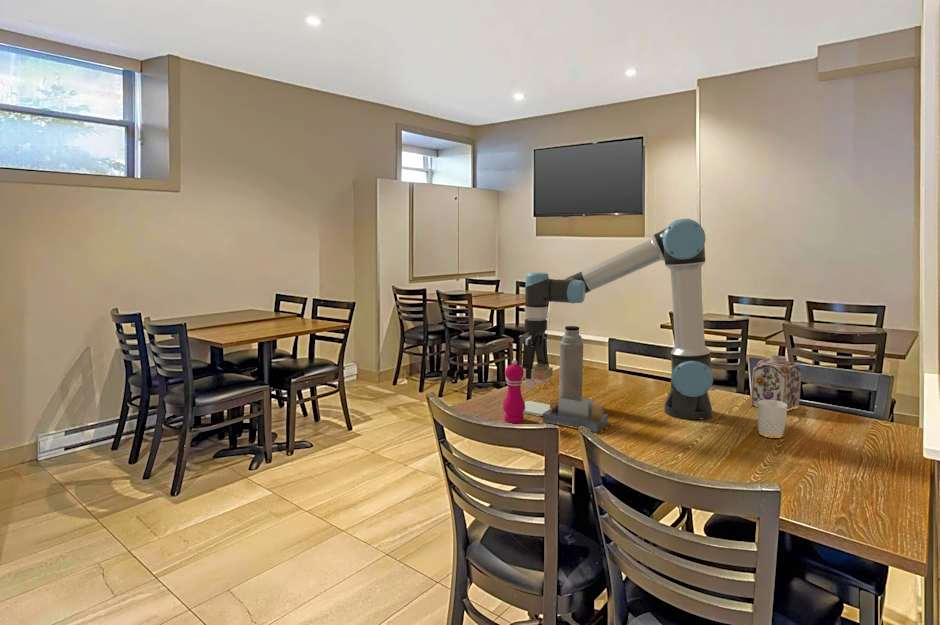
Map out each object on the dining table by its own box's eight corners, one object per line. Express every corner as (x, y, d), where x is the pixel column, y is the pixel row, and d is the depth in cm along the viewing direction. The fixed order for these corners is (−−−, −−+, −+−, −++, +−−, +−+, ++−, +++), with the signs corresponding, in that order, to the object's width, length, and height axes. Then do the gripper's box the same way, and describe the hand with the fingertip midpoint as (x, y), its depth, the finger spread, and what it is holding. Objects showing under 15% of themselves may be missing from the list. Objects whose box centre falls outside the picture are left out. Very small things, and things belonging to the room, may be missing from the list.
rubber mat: (555, 408, 204) (556, 405, 204) (542, 417, 195) (542, 414, 195) (527, 403, 210) (527, 400, 210) (512, 411, 201) (512, 408, 201)
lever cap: (552, 375, 201) (552, 364, 201) (543, 380, 195) (543, 368, 195) (526, 371, 206) (526, 360, 206) (516, 376, 201) (516, 364, 200)
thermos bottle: (558, 401, 213) (559, 324, 208) (580, 401, 212) (582, 324, 208) (559, 407, 205) (561, 328, 201) (582, 408, 204) (584, 328, 200)
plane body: (607, 423, 189) (608, 399, 188) (596, 432, 180) (597, 407, 179) (555, 413, 198) (556, 390, 197) (543, 422, 190) (543, 398, 189)
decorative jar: (782, 414, 198) (787, 362, 195) (749, 406, 207) (752, 355, 204) (799, 408, 205) (804, 357, 202) (766, 400, 214) (770, 351, 211)
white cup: (751, 435, 178) (754, 403, 177) (761, 429, 184) (763, 398, 182) (779, 442, 173) (782, 409, 171) (788, 435, 178) (791, 403, 177)
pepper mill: (499, 417, 194) (499, 358, 191) (519, 415, 197) (519, 356, 194) (508, 424, 188) (508, 363, 185) (528, 422, 190) (529, 361, 187)
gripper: (539, 313, 208) (537, 377, 212) (511, 321, 192) (510, 390, 195) (558, 315, 204) (556, 380, 208) (532, 323, 188) (531, 393, 191)
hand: (534, 385), depth 201 cm, fingers closed on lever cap, 7 cm apart
